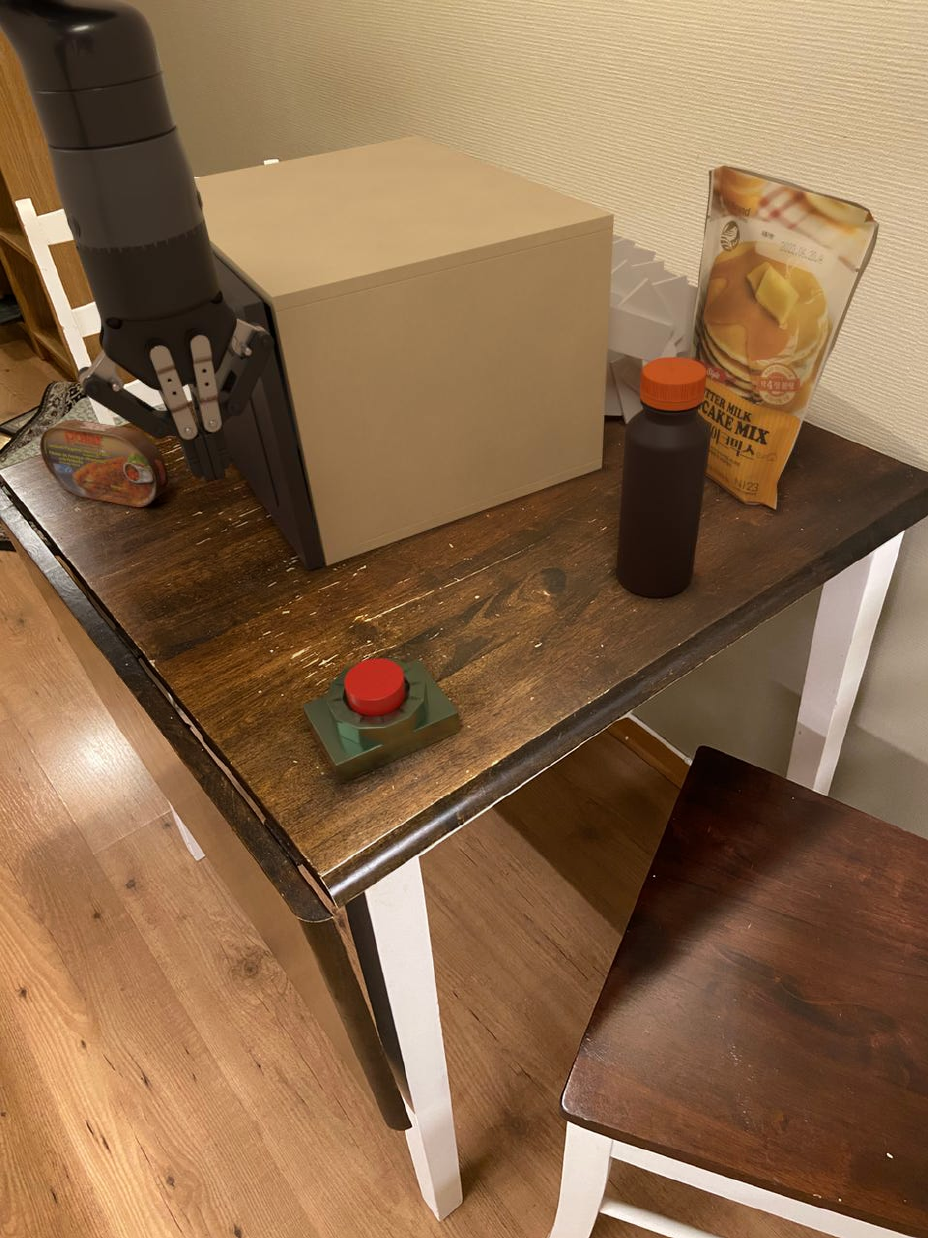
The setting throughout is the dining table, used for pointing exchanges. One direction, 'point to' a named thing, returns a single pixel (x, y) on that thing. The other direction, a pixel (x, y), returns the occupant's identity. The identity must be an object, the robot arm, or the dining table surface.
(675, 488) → the bottle
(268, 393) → the oven door
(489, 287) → the oven
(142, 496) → the tin
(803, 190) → the pancake mix bag
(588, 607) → the dining table surface
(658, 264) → the spiral staircase
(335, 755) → the button base
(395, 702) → the button
